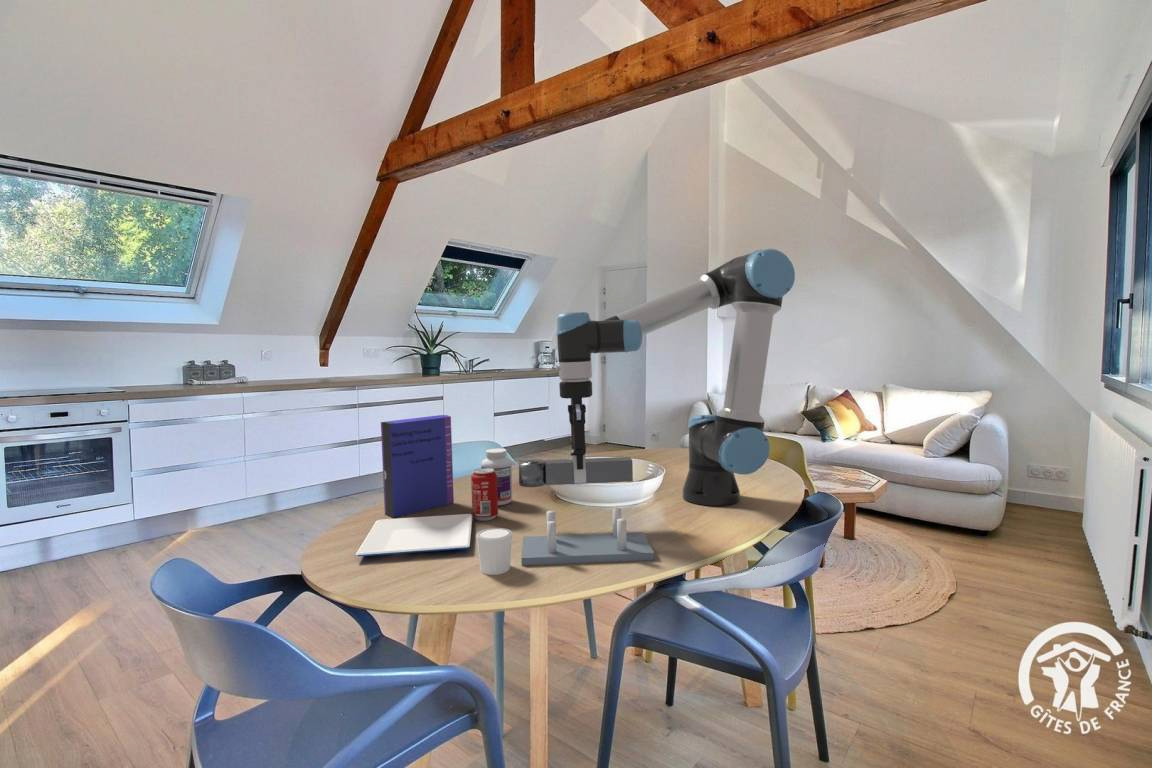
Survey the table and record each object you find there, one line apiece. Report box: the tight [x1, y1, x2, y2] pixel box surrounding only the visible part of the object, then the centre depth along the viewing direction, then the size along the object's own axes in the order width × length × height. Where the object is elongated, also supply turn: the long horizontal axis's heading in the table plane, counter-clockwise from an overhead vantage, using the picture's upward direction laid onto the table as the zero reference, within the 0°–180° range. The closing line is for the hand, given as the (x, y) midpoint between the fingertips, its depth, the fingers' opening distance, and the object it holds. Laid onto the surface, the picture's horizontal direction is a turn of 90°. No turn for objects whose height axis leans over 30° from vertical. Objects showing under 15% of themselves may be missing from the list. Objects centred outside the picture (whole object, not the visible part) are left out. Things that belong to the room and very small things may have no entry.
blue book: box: [380, 414, 455, 519], centre depth 147 cm, size 17×5×24 cm, turn 135°
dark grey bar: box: [518, 456, 634, 488], centre depth 130 cm, size 26×6×5 cm, turn 94°
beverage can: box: [470, 468, 499, 522], centre depth 138 cm, size 6×6×12 cm
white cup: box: [475, 527, 513, 576], centre depth 107 cm, size 7×7×7 cm
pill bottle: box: [481, 448, 513, 507], centre depth 151 cm, size 8×8×14 cm
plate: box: [355, 513, 473, 557], centre depth 124 cm, size 22×22×2 cm
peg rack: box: [520, 507, 655, 566], centre depth 115 cm, size 26×12×8 cm, turn 94°
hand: (579, 479), depth 130 cm, fingers closed on dark grey bar, 4 cm apart
